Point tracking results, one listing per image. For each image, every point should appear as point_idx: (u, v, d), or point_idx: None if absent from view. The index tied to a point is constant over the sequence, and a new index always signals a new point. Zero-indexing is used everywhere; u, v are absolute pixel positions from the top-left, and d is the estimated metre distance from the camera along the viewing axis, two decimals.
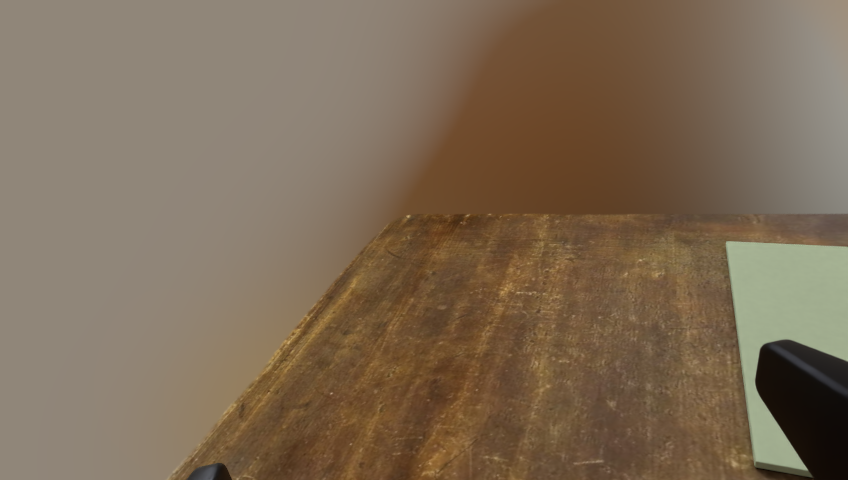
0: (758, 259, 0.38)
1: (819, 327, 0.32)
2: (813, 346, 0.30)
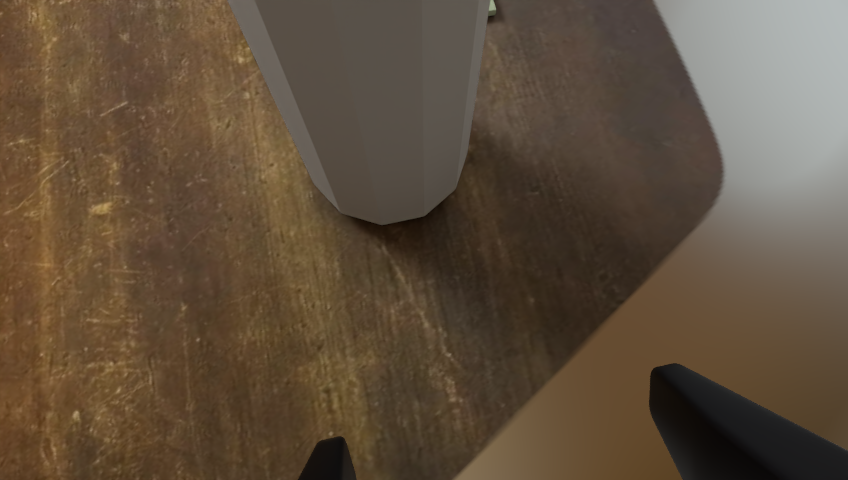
0: None
1: None
2: None
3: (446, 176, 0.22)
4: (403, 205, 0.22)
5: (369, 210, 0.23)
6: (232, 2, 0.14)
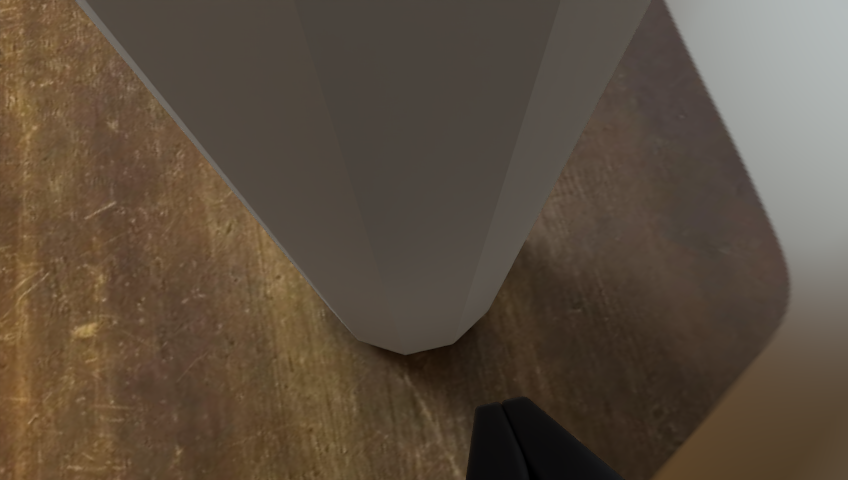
0: None
1: None
2: None
3: (481, 310, 0.19)
4: (431, 342, 0.19)
5: (392, 346, 0.20)
6: None
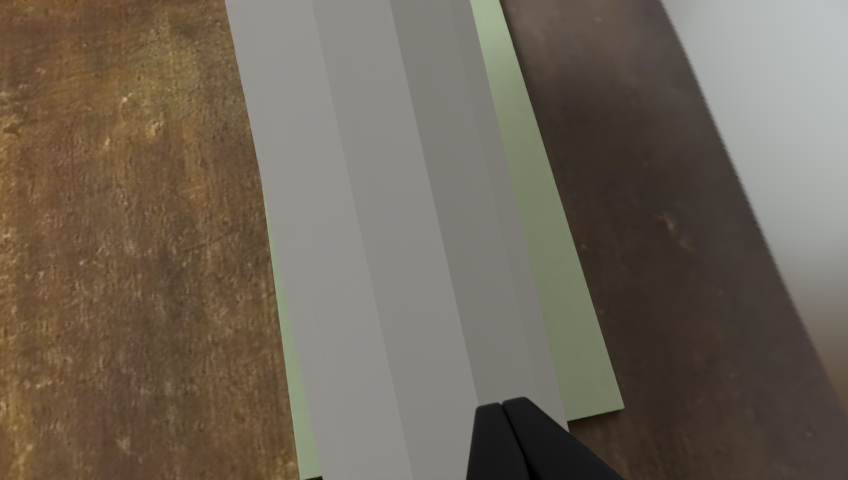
0: None
1: None
2: None
3: None
4: None
5: None
6: (268, 195, 0.15)
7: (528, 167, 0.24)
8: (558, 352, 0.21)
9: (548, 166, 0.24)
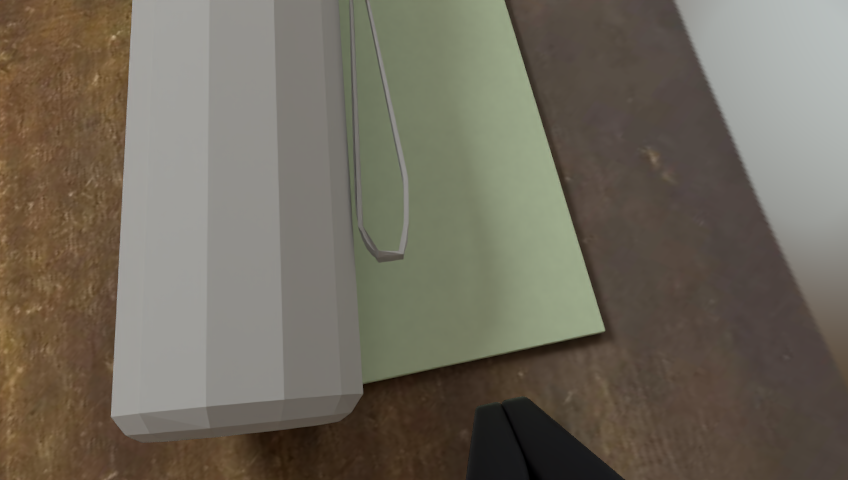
0: None
1: (350, 124, 0.24)
2: None
3: (183, 314, 0.14)
4: (128, 347, 0.15)
5: None
6: None
7: (513, 102, 0.24)
8: (541, 278, 0.22)
9: (533, 101, 0.24)
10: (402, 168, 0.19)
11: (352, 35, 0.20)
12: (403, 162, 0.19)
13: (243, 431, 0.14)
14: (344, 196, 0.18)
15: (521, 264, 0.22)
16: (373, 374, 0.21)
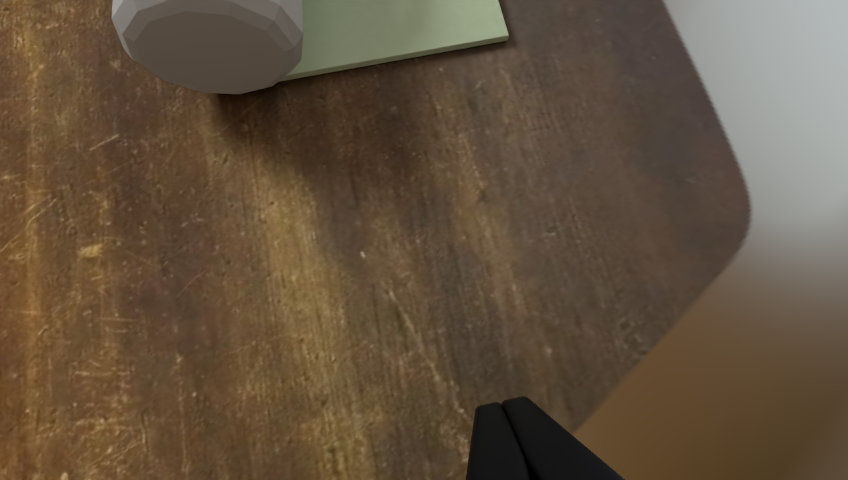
0: None
1: None
2: None
3: None
4: None
5: None
6: None
7: None
8: None
9: None
10: None
11: None
12: None
13: (204, 8, 0.20)
14: None
15: None
16: (322, 64, 0.26)
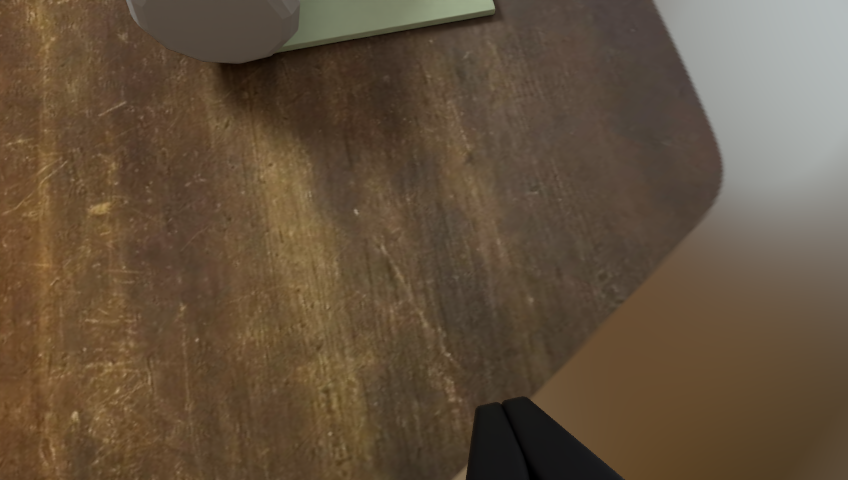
0: None
1: None
2: None
3: None
4: None
5: None
6: None
7: None
8: None
9: None
10: None
11: None
12: None
13: None
14: None
15: None
16: (319, 36, 0.27)
